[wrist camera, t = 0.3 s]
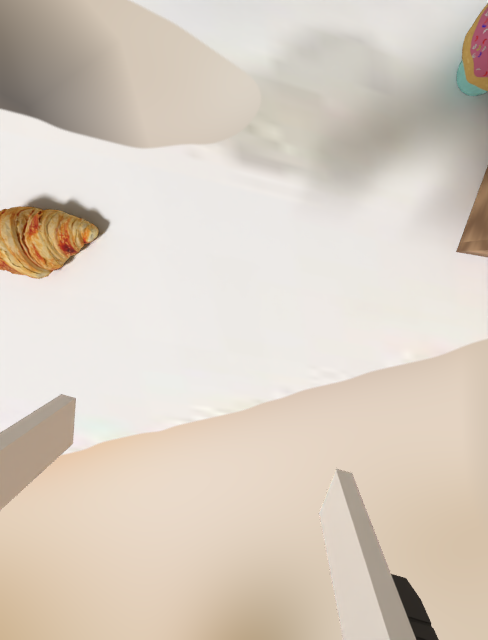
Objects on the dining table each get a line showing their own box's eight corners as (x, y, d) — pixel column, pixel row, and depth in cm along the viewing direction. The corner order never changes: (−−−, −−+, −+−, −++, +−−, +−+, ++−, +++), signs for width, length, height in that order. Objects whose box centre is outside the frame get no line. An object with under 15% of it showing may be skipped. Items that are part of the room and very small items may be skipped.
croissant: (112, 214, 41) (72, 175, 33) (111, 269, 38) (67, 240, 30) (0, 242, 43) (-60, 211, 36) (-8, 295, 41) (-76, 274, 33)
